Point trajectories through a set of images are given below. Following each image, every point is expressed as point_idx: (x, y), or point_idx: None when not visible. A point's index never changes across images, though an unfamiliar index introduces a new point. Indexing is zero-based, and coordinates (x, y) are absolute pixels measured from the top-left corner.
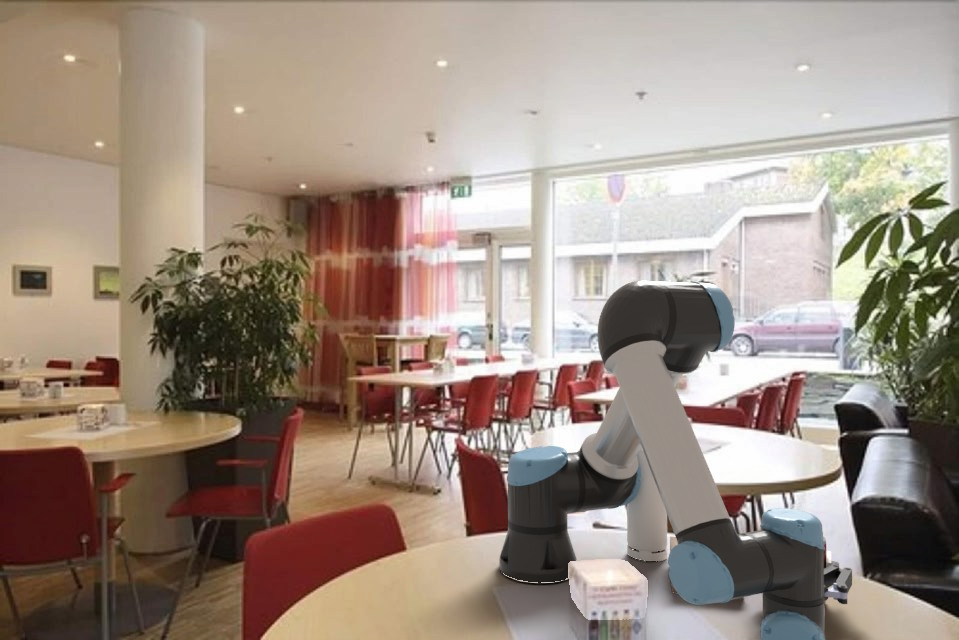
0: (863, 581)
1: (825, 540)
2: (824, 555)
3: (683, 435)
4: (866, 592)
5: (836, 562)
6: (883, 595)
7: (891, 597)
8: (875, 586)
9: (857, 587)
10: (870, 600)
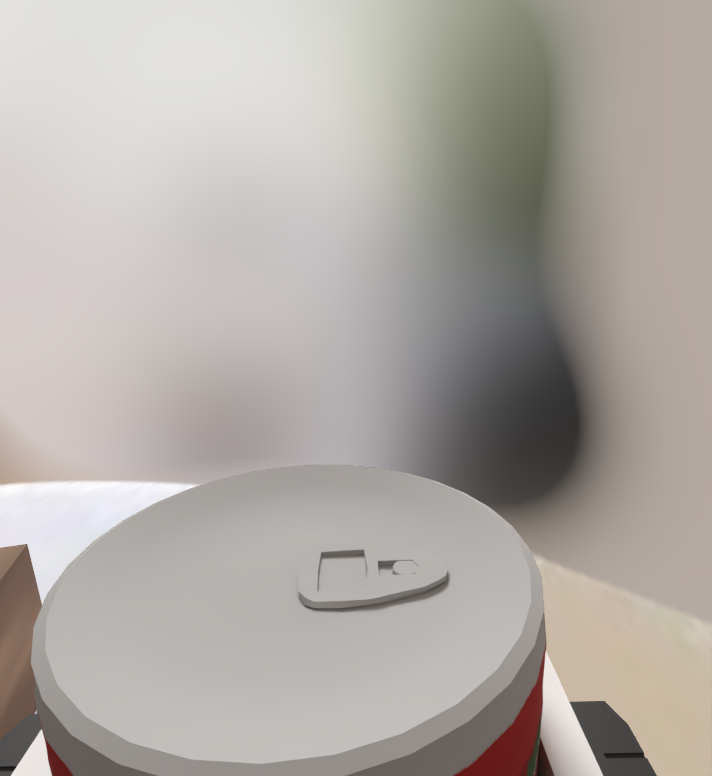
0: (544, 571)
1: (535, 568)
2: (539, 738)
3: None
4: (598, 657)
5: (604, 720)
6: (665, 658)
7: (700, 664)
8: (595, 592)
9: (548, 624)
10: (661, 742)
